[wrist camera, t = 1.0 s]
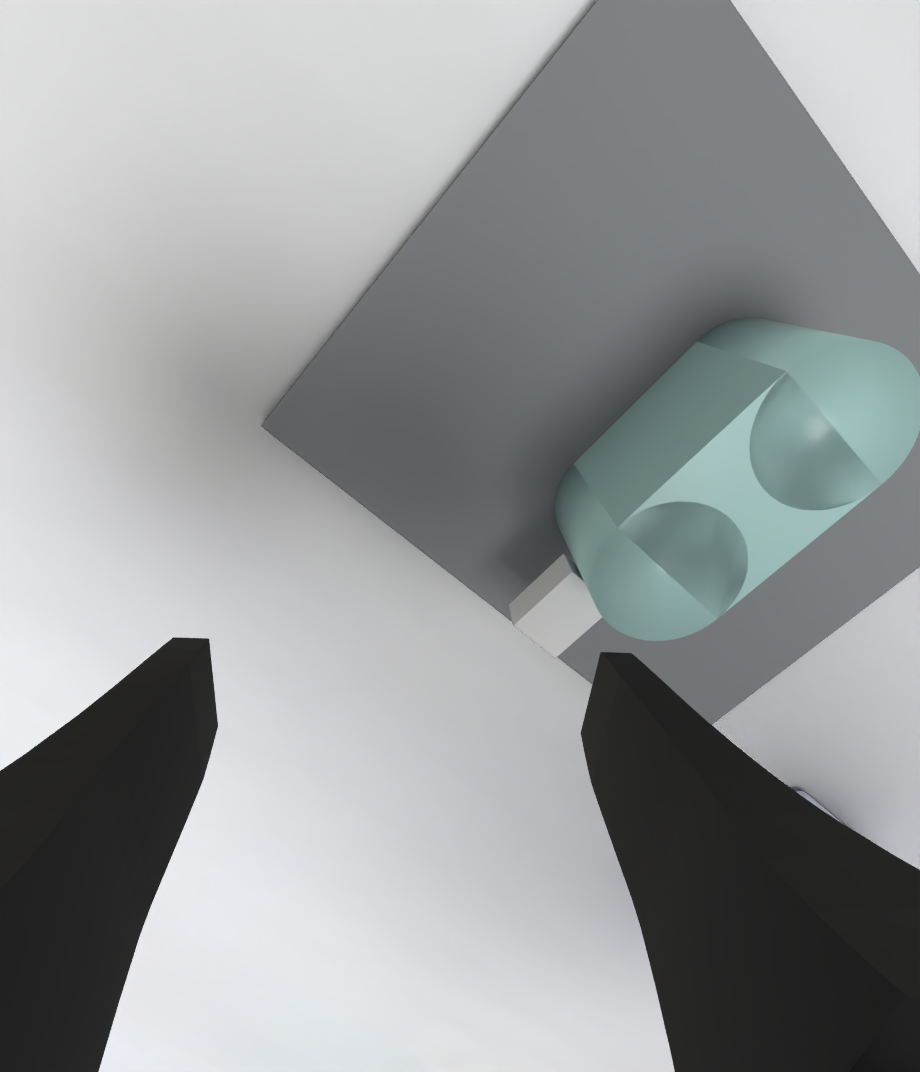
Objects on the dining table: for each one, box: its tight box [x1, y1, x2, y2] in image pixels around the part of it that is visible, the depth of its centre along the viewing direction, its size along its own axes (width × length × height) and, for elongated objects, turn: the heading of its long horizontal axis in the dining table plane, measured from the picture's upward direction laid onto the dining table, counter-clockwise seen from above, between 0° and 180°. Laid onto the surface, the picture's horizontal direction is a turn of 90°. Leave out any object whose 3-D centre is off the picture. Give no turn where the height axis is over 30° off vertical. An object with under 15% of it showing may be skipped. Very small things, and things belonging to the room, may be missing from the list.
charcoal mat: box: [261, 0, 920, 725], centre depth 20 cm, size 20×16×1 cm
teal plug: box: [509, 318, 920, 658], centre depth 17 cm, size 11×4×5 cm, turn 138°
